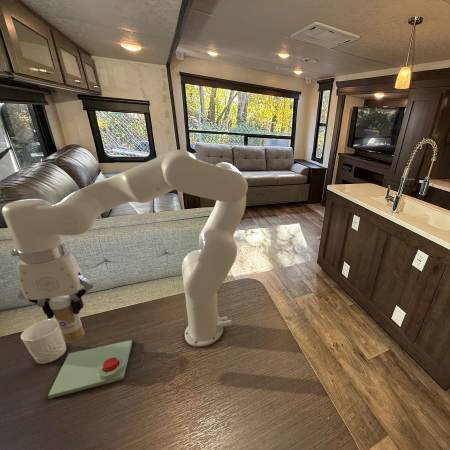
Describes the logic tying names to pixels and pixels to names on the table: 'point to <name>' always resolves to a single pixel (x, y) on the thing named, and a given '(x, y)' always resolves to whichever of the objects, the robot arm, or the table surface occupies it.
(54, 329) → the white cup
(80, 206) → the robot arm
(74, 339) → the sprinkles bottle
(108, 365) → the button
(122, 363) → the scale
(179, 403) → the table surface
